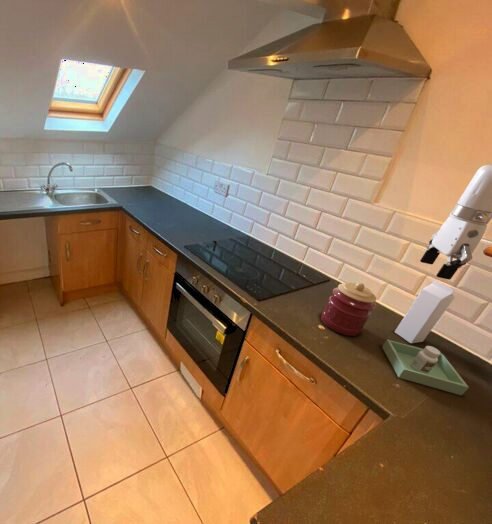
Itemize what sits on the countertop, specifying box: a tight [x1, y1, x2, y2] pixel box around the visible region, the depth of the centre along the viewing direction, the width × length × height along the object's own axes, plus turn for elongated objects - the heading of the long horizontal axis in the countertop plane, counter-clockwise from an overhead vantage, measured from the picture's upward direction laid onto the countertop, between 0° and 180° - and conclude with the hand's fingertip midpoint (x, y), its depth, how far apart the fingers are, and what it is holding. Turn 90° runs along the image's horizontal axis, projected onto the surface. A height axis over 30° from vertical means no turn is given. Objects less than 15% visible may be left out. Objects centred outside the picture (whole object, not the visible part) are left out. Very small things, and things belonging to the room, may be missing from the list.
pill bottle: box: [411, 345, 441, 374], centre depth 90 cm, size 4×4×8 cm
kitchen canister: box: [320, 282, 377, 337], centre depth 104 cm, size 13×13×18 cm
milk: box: [394, 279, 456, 344], centre depth 101 cm, size 6×6×22 cm
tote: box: [381, 339, 470, 396], centre depth 91 cm, size 16×14×3 cm
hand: (434, 270), depth 87 cm, fingers open, 9 cm apart
